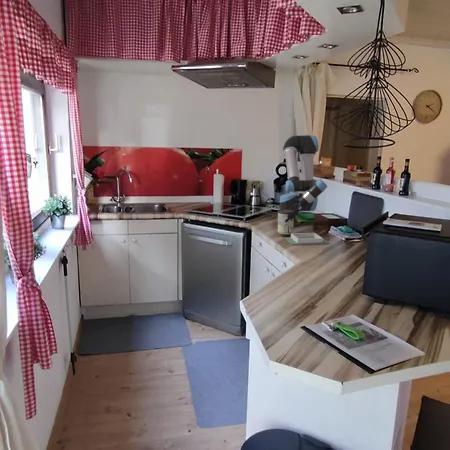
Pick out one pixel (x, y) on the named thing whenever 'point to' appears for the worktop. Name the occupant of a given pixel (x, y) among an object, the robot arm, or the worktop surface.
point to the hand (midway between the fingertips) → (280, 223)
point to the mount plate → (305, 239)
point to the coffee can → (288, 226)
